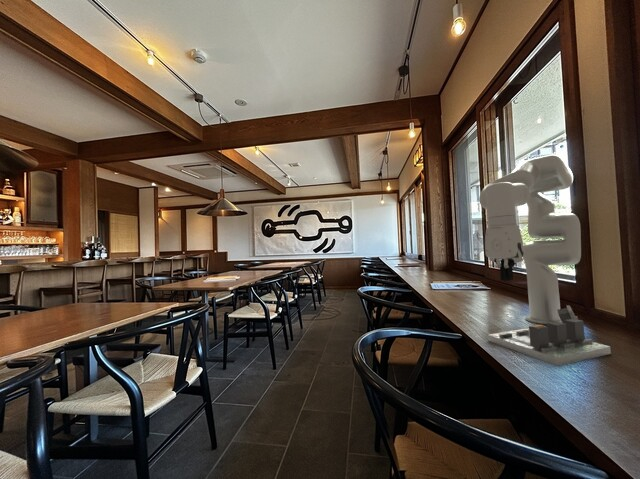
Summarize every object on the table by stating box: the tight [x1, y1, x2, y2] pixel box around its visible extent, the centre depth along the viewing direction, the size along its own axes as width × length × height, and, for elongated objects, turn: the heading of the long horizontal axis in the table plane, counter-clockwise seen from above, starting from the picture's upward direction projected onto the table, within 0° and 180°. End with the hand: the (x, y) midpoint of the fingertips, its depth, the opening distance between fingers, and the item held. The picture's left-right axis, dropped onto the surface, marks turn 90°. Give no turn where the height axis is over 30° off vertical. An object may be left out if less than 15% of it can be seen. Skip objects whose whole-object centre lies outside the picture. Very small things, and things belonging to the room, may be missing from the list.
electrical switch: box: [558, 304, 579, 323], centre depth 92 cm, size 9×5×9 cm, turn 141°
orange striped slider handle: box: [528, 324, 549, 349], centre depth 78 cm, size 4×3×6 cm
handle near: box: [565, 319, 586, 341], centre depth 81 cm, size 4×3×6 cm
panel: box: [487, 327, 612, 367], centre depth 83 cm, size 20×21×3 cm
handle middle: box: [546, 322, 567, 345], centre depth 80 cm, size 4×3×6 cm
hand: (507, 280), depth 87 cm, fingers closed
